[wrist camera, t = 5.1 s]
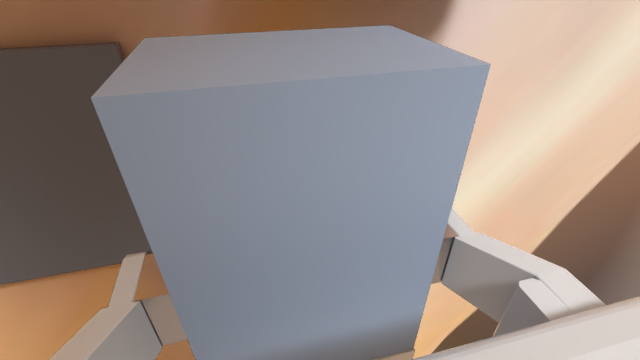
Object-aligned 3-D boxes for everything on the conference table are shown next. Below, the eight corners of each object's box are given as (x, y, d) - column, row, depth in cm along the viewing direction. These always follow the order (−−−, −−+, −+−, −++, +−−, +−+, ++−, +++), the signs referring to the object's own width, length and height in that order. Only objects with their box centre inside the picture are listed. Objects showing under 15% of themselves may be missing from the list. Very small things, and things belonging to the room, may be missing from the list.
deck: (143, 38, 8) (87, 99, 4) (390, 24, 9) (494, 64, 6) (223, 324, 14) (226, 440, 10) (362, 293, 15) (404, 388, 12)
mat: (-213, 60, 15) (-232, 64, 15) (118, 42, 18) (114, 45, 18) (-28, 282, 23) (-35, 290, 23) (182, 245, 26) (181, 252, 26)
